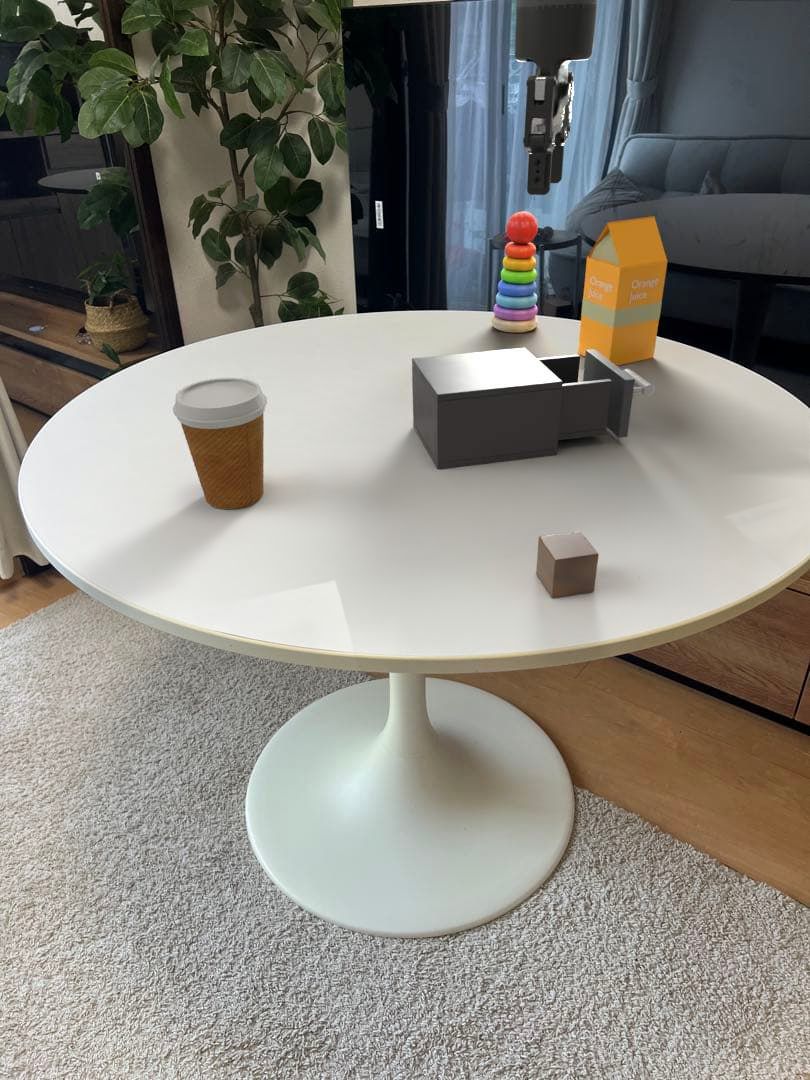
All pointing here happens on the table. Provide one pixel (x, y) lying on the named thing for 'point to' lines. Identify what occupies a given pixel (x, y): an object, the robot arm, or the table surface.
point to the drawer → (594, 395)
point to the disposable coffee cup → (225, 438)
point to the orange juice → (623, 291)
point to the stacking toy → (518, 278)
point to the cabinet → (485, 407)
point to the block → (566, 564)
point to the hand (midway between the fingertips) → (544, 188)
